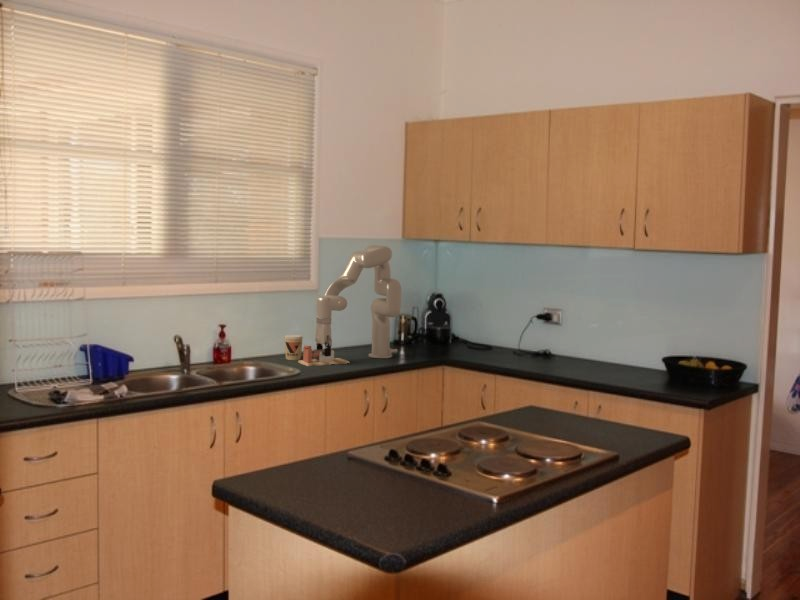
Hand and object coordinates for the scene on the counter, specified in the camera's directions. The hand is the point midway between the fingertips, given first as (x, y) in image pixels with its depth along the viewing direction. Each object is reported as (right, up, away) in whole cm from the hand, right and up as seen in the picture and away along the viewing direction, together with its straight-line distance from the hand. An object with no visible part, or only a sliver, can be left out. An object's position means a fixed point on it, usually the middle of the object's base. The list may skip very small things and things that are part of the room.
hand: (323, 354), depth 421 cm
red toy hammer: (-3, -3, -2) cm, 5 cm away
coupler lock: (0, -3, +1) cm, 3 cm away
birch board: (0, -4, 0) cm, 4 cm away
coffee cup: (-17, -3, +10) cm, 20 cm away
